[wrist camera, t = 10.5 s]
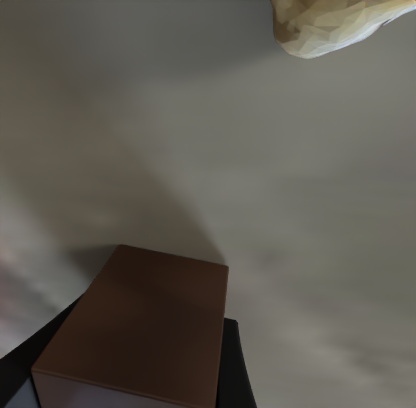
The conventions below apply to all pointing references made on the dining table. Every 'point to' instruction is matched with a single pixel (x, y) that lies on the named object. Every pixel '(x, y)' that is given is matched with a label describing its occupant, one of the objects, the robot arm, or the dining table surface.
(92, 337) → the walnut block
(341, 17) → the pastry
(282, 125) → the dining table surface
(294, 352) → the dining table surface
